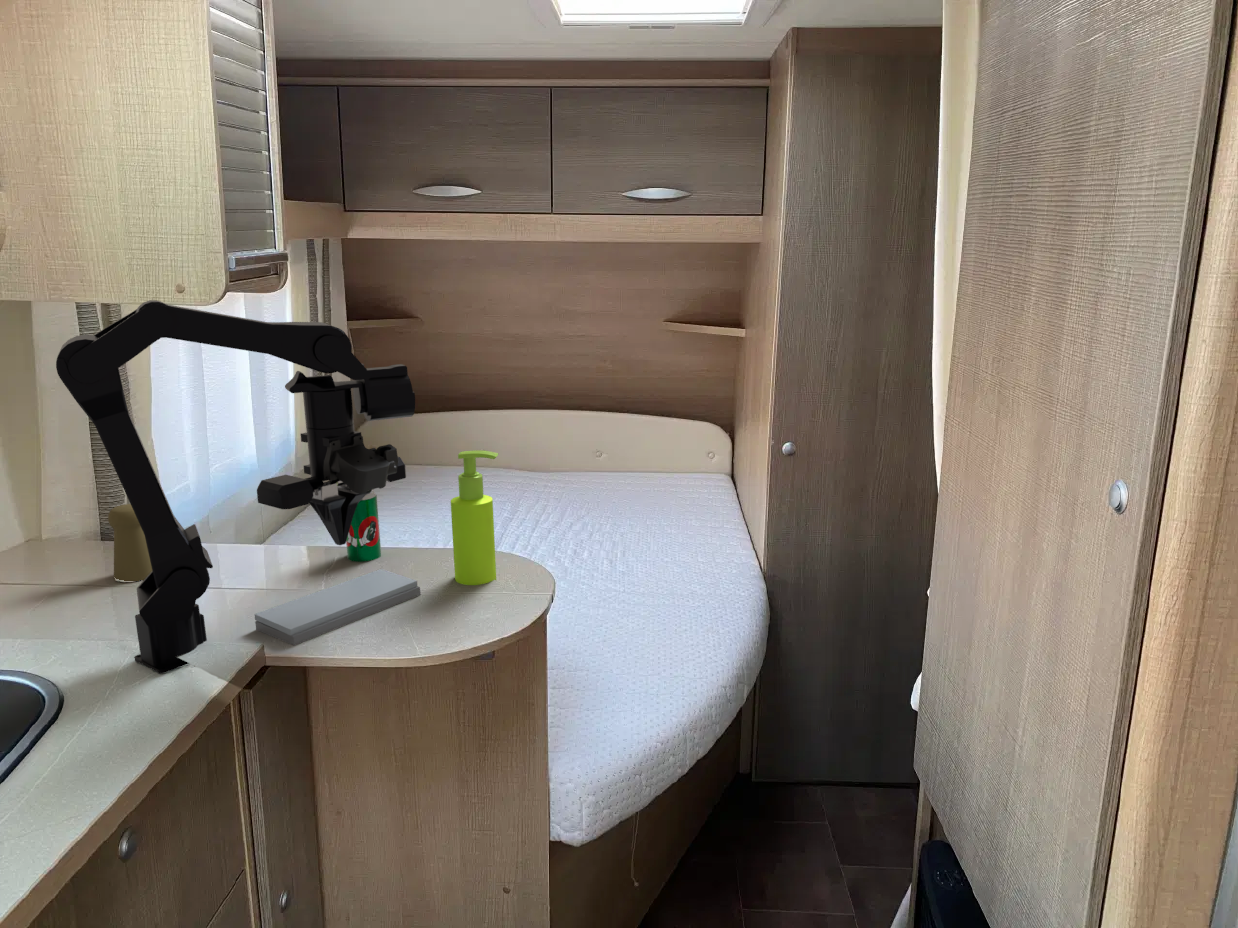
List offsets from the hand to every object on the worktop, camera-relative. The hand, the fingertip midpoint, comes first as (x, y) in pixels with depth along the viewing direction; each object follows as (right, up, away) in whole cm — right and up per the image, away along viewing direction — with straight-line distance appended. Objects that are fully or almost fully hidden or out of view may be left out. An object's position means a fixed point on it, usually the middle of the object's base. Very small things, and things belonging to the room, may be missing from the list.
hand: (340, 544), depth 120 cm
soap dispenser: (+16, -8, +15) cm, 23 cm away
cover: (-1, -8, +3) cm, 8 cm away
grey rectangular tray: (-1, -10, +3) cm, 11 cm away
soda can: (-4, -5, +25) cm, 26 cm away
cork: (-37, -7, +22) cm, 44 cm away
